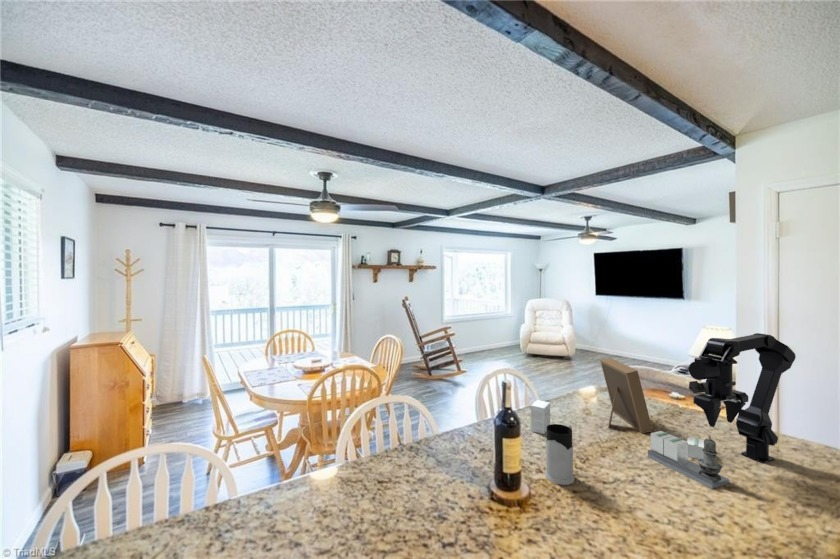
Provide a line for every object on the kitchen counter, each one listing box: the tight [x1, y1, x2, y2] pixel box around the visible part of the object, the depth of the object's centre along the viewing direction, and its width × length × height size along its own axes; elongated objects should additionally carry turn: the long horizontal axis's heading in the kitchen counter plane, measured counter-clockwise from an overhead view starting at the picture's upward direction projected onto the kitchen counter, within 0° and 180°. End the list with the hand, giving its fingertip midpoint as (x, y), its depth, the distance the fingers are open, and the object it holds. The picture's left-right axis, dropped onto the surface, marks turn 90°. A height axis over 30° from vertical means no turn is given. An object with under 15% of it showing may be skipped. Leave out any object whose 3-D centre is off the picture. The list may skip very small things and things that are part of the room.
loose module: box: [686, 436, 705, 460], centre depth 127 cm, size 7×5×5 cm
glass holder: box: [544, 423, 575, 486], centre depth 116 cm, size 9×14×15 cm, turn 137°
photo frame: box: [599, 357, 653, 434], centre depth 154 cm, size 15×22×25 cm
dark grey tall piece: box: [697, 435, 723, 480], centre depth 112 cm, size 6×6×12 cm
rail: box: [647, 430, 730, 490], centre depth 117 cm, size 8×20×8 cm, turn 21°
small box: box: [530, 399, 551, 435], centre depth 148 cm, size 8×6×10 cm
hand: (720, 424), depth 120 cm, fingers open, 9 cm apart
